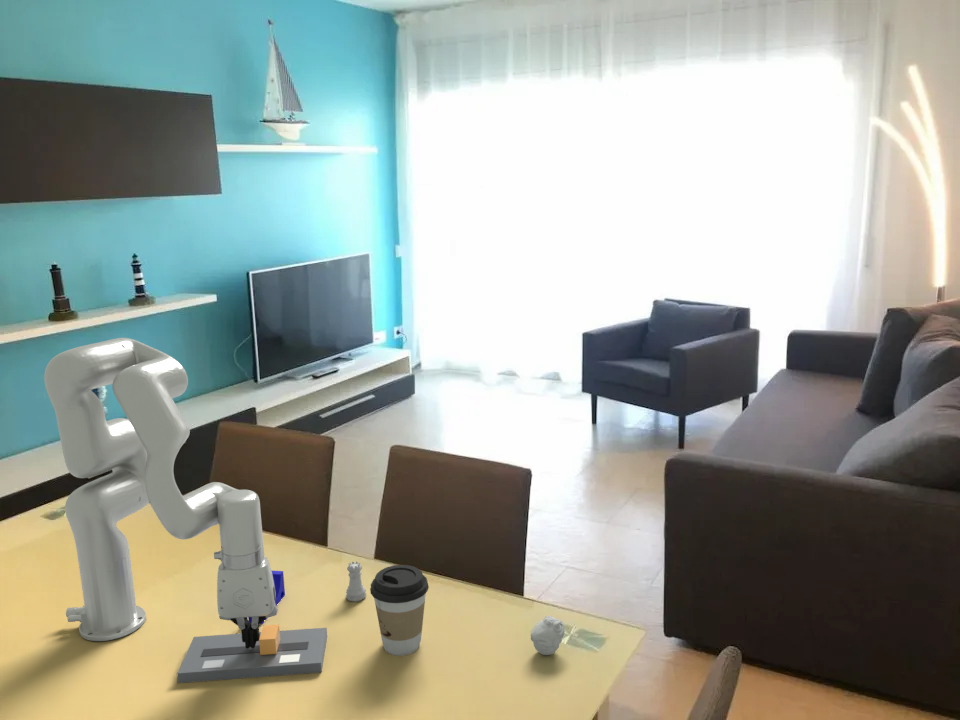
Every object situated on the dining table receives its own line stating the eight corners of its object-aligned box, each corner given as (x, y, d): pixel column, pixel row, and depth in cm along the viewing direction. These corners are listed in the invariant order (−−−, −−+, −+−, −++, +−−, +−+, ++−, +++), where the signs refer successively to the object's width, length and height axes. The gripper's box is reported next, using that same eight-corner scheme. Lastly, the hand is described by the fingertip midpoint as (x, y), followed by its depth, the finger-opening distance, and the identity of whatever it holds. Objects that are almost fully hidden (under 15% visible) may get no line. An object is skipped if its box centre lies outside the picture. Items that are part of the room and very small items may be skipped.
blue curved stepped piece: (265, 594, 176) (263, 570, 174) (285, 595, 175) (283, 571, 174) (242, 623, 164) (239, 597, 163) (262, 625, 163) (260, 598, 162)
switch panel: (178, 682, 144) (177, 672, 144) (194, 645, 156) (193, 636, 156) (321, 672, 147) (320, 662, 146) (327, 636, 158) (326, 627, 158)
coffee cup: (362, 642, 156) (358, 573, 153) (410, 623, 163) (408, 556, 159) (392, 669, 147) (388, 597, 144) (442, 647, 154) (439, 577, 151)
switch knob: (260, 655, 149) (258, 639, 148) (264, 640, 153) (263, 625, 153) (276, 653, 149) (275, 638, 148) (280, 639, 154) (279, 624, 153)
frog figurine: (571, 654, 151) (571, 621, 150) (542, 666, 147) (542, 632, 146) (552, 639, 156) (552, 607, 155) (523, 650, 152) (523, 618, 151)
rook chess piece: (357, 604, 170) (355, 570, 169) (341, 599, 173) (339, 565, 171) (370, 595, 174) (368, 562, 172) (355, 590, 176) (353, 557, 175)
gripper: (197, 568, 142) (206, 658, 146) (281, 563, 144) (288, 652, 148) (207, 549, 150) (216, 636, 154) (286, 544, 151) (293, 630, 155)
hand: (251, 644), depth 151 cm, fingers closed
